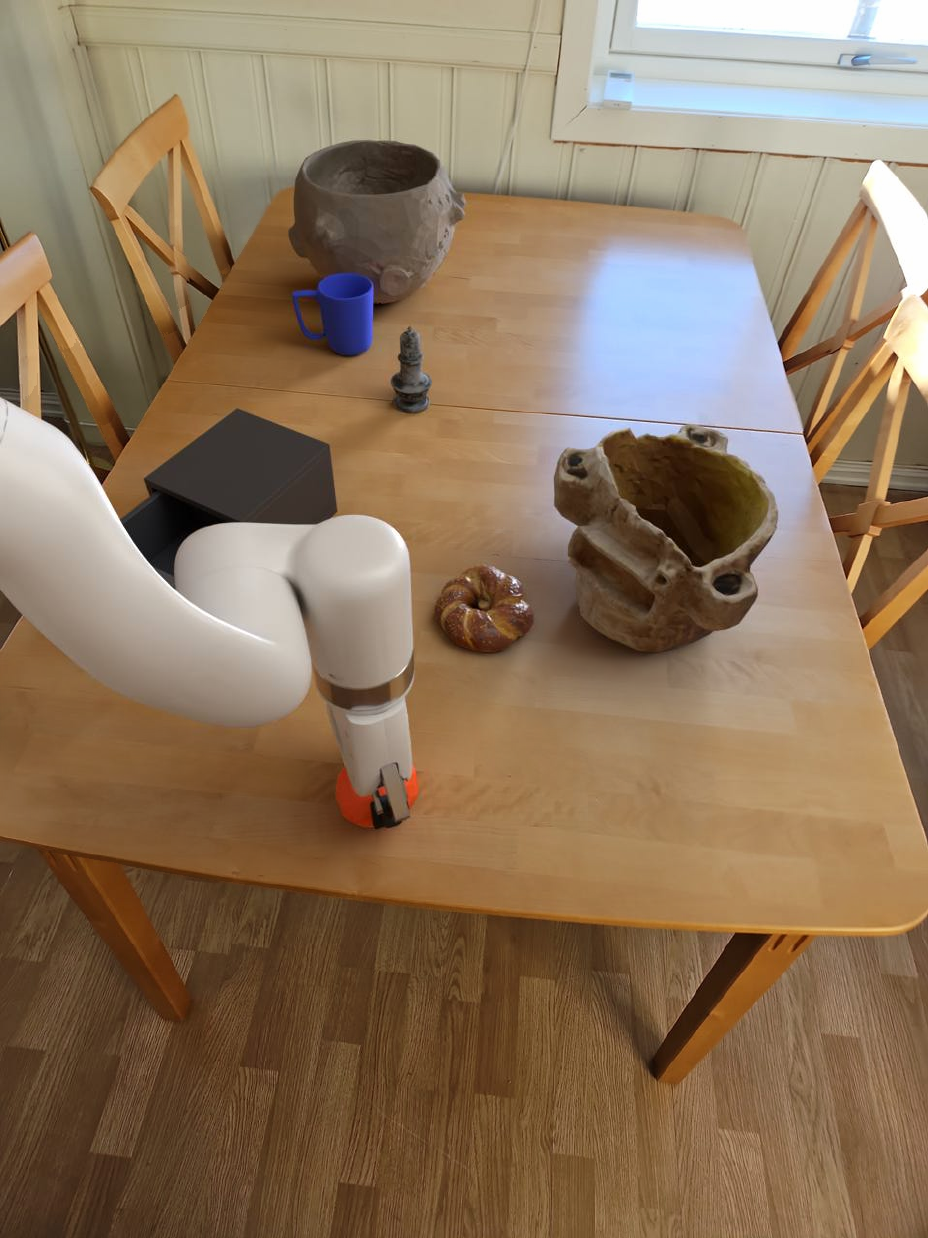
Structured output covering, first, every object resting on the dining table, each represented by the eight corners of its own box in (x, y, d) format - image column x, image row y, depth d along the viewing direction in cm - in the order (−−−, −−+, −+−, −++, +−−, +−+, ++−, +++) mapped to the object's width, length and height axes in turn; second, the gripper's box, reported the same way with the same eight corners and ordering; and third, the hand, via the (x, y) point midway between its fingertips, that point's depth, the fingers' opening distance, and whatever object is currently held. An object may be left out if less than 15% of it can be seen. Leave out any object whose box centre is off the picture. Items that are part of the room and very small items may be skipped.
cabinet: (257, 589, 94) (241, 522, 86) (166, 546, 98) (143, 478, 91) (337, 511, 103) (329, 444, 95) (251, 474, 107) (237, 407, 100)
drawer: (161, 668, 85) (139, 614, 79) (73, 620, 89) (46, 566, 83) (275, 558, 96) (264, 503, 90) (193, 520, 100) (177, 465, 94)
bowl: (462, 332, 133) (466, 203, 118) (285, 326, 132) (266, 196, 117) (464, 255, 151) (467, 134, 136) (308, 250, 150) (294, 128, 135)
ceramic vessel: (865, 568, 87) (836, 472, 66) (698, 726, 91) (622, 683, 71) (714, 452, 99) (649, 340, 78) (573, 596, 103) (477, 527, 83)
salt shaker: (437, 395, 121) (437, 319, 112) (423, 417, 117) (422, 340, 108) (400, 387, 122) (397, 311, 113) (385, 409, 118) (381, 332, 109)
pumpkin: (320, 809, 76) (312, 774, 71) (378, 751, 80) (374, 714, 75) (378, 855, 73) (374, 821, 68) (435, 792, 77) (435, 757, 72)
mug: (299, 334, 131) (291, 273, 123) (375, 332, 132) (372, 271, 124) (298, 362, 125) (290, 300, 118) (377, 359, 127) (374, 298, 119)
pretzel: (431, 579, 96) (431, 556, 93) (524, 576, 97) (527, 553, 94) (437, 659, 88) (437, 637, 85) (537, 655, 89) (541, 633, 86)
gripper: (286, 595, 66) (312, 721, 79) (347, 774, 55) (365, 884, 68) (376, 572, 67) (386, 698, 81) (452, 740, 57) (449, 854, 70)
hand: (376, 783), depth 74 cm, fingers closed on pumpkin, 7 cm apart
